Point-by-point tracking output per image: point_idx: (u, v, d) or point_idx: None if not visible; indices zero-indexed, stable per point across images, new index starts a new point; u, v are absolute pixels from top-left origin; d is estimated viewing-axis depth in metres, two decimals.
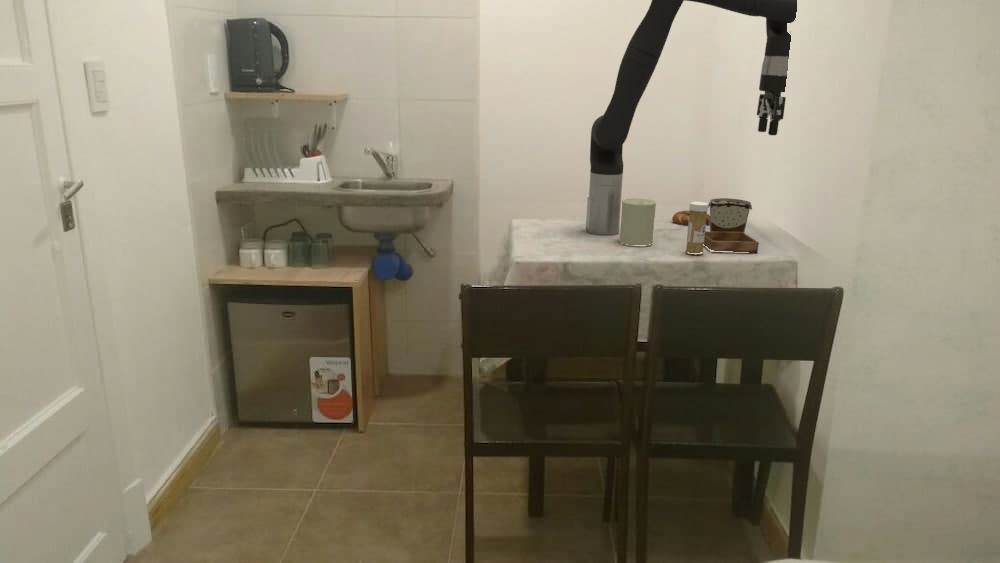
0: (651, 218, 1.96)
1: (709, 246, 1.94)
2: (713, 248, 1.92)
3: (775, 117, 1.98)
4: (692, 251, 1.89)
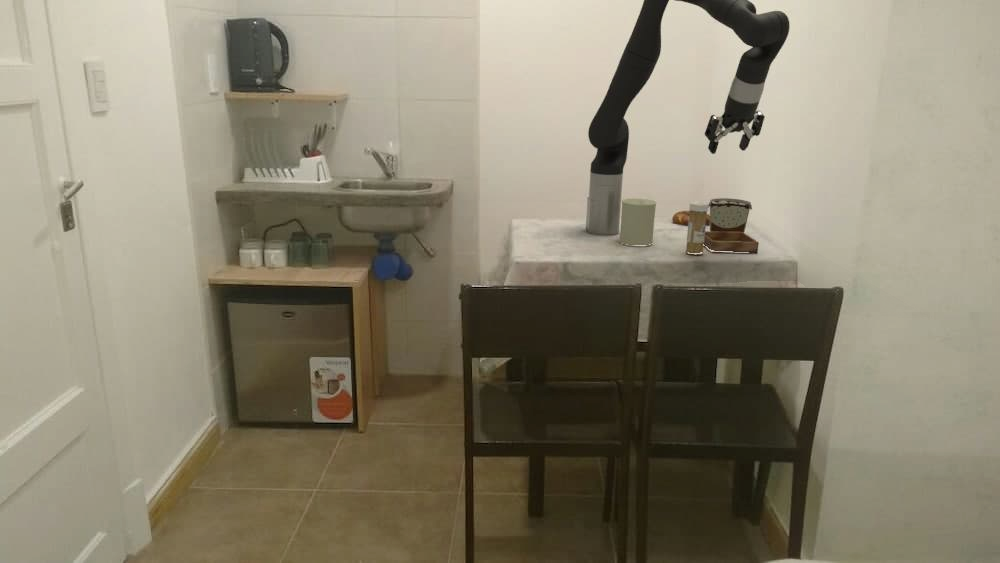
0: (651, 217, 1.96)
1: (709, 246, 1.94)
2: (713, 248, 1.92)
3: (705, 134, 1.84)
4: (692, 251, 1.89)
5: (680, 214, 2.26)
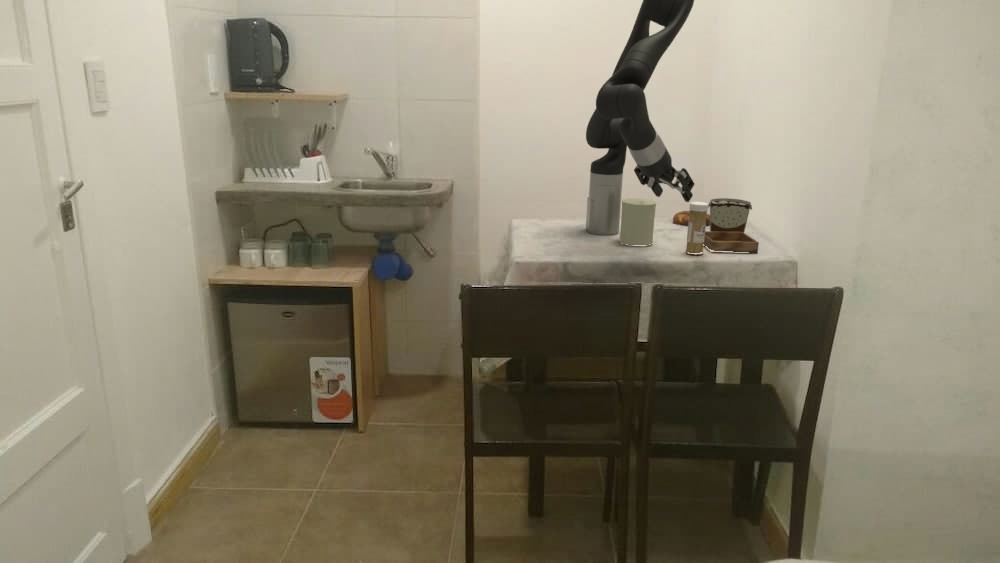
0: (651, 218, 1.96)
1: (709, 246, 1.94)
2: (713, 248, 1.92)
3: None
4: (692, 251, 1.89)
5: (681, 214, 2.26)
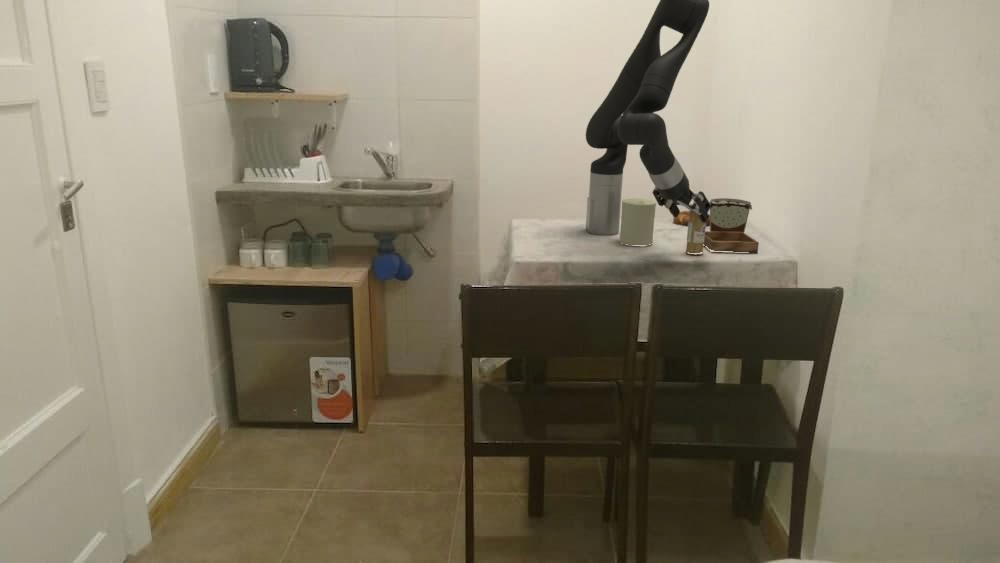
0: (651, 218, 1.96)
1: (709, 246, 1.94)
2: (713, 248, 1.92)
3: None
4: (692, 251, 1.89)
5: (681, 214, 2.25)
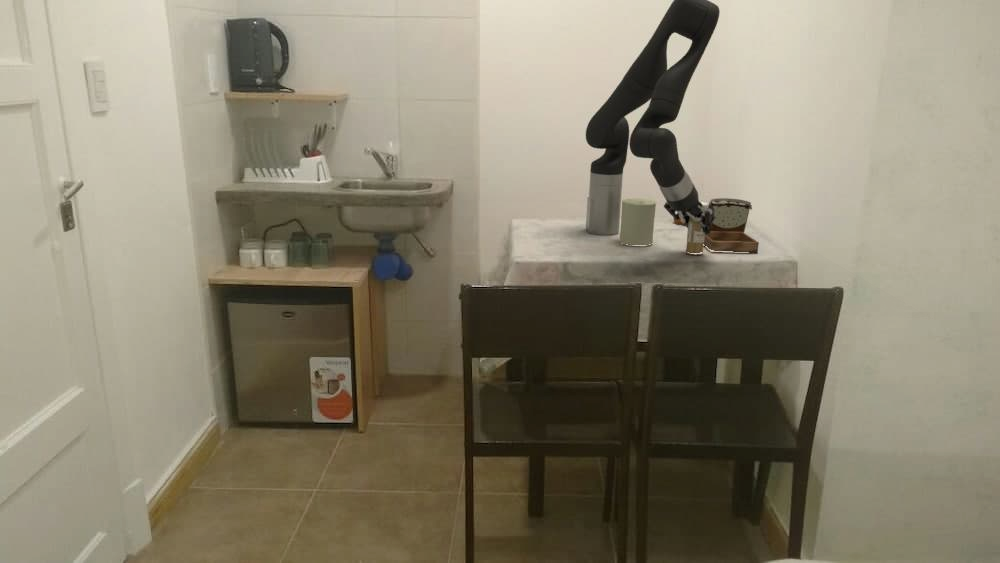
0: (651, 218, 1.96)
1: (709, 246, 1.94)
2: (713, 248, 1.92)
3: None
4: (692, 251, 1.89)
5: None
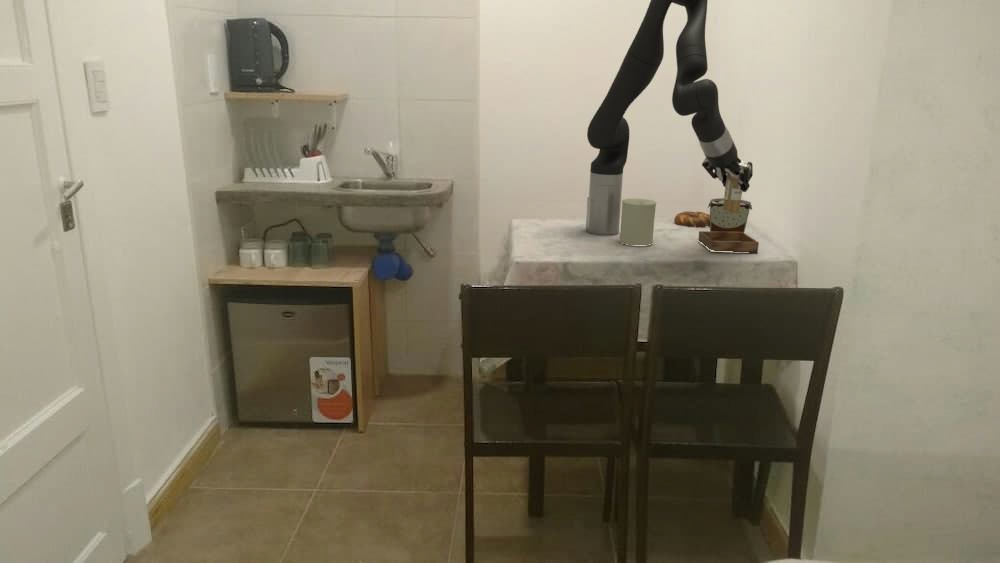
0: (651, 218, 1.96)
1: (709, 246, 1.94)
2: (713, 248, 1.92)
3: None
4: (730, 208, 1.93)
5: (682, 215, 2.25)
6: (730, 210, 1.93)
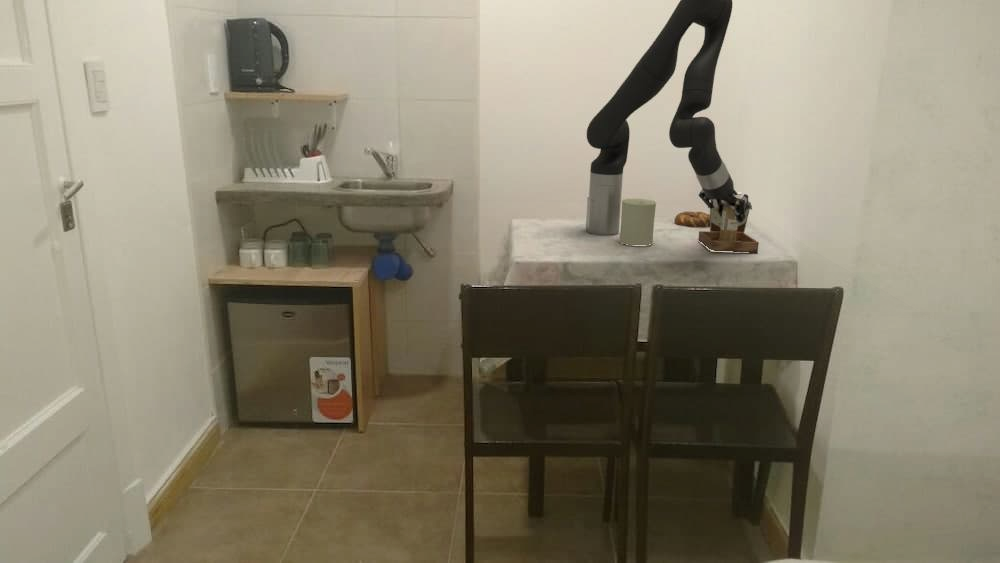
0: (651, 217, 1.96)
1: (709, 246, 1.94)
2: (713, 248, 1.92)
3: None
4: (726, 238, 1.95)
5: (682, 215, 2.25)
6: (726, 240, 1.95)
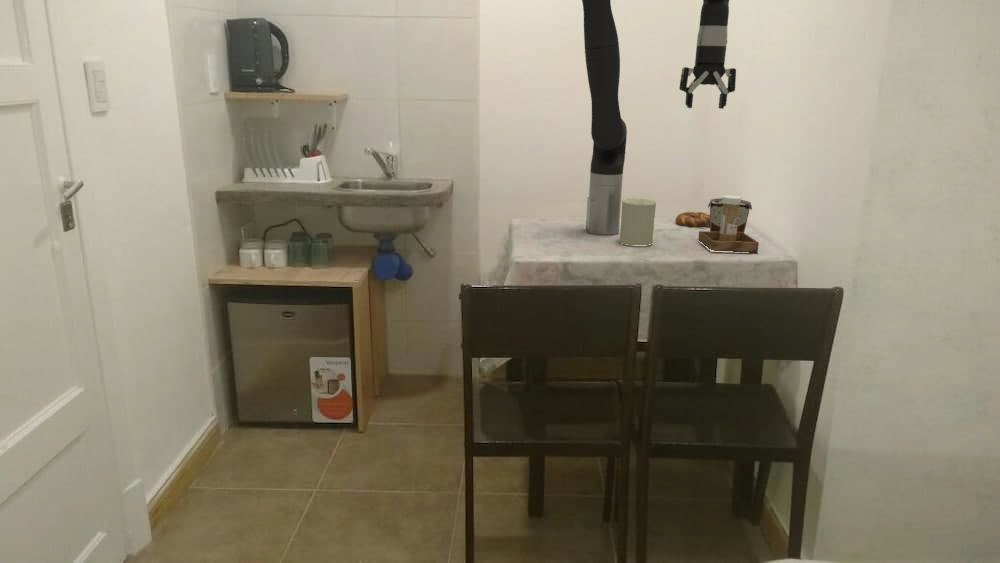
0: (651, 217, 1.96)
1: (709, 246, 1.94)
2: (713, 248, 1.92)
3: (679, 88, 1.95)
4: None
5: (683, 215, 2.24)
6: None
